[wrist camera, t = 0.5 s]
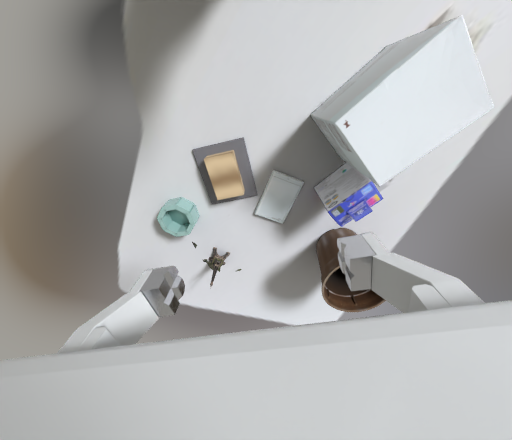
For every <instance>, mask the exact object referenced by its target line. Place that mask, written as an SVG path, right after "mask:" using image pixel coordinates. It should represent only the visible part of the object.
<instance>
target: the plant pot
mask: <svg viewBox="0 0 512 440" xmlns="http://www.w3.org/2000/svg"><path fill="white" fill-rule="evenodd" d="M354 235H357V234H356V233H355V232H353V231H352V230H349V229H346V228H340V229H332V230H330V231H328V232H326V233H325V234H324V235H322V236H321V238H320V239H319V240H318V242H317V246H316V251H317V255H318V260H319V265H320V269H321V274H322V276H321V280H322V295H323V298H324V300H325V301H326V303H327V304H328V305H330V306H331V307H333V308H335V309H337V310H340V311H345V312H361V311H366V310H369V309H372V308H375V307H377V306H379V305H380V304H382V303H383V302H385V301H386V300H385V299H383V298H382V297H381V296H379V295H378V294H376V293H375V292H374V291H372V289H367V290H358V291H351V290H350V288H349V286H348V284H347V281H346V275H345V274H344V273H342V270H341V268H340V265H339V260H338V252H339V251H340V250H339V248H338V246H337V238H342V237H348V236H354Z"/></svg>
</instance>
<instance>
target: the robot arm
mask: <svg viewBox="0 0 512 440" xmlns="http://www.w3.org/2000/svg"><path fill="white" fill-rule="evenodd" d="M337 246H338V248H339V250H340V251H339V252H338V260H339V265H340V268H341V270H342V273H344V274H345V275H346V281H347V284H348V286H349V288H350V290H351V291H358V290H367V289H372V291H374V292H375V293H376V294H378V295H379V296H381V297H382V298H383V299H385V300H386V301H388V302H389V303H390V304H392V305H393V306H394V307H396V308H397V309H399V310H400V311H401V312H403V313H399V314H390V315H382V316H373V317H365V318H356V319H348V320H339V321H331V322H322V323H314V324H305V325H296V326H288V327H279V328H270V329H262V330H254V331H245V332H237V333H228V334H219V335H211V336H203V337H194V338H185V339H177V340H168V341H160V342H152V343H142V344H136V343H137V342H138V341H139V340H140V339H141V338H142V336H143V335H144V334H145V333H146V332H147V331H148V330H149V329H150V328H151V326H152V325H153V324H154V323H155V322H156V321H157V320H158V319H159V317H164V316H170V315H175V313H176V311H177V308H178V306H179V304H180V303H179V301H178V300H179V299H180V298H181V297H182V296H183V294H184V289H185V285H184V281H183V279H182V278H181V277H180V276H178V270H177V268H176V267H175V266H168V267H161V268H155V269H148V270H145V271H144V272H143V273H142V275H141V276H140V278H139V279H138V280H137V282H136V283H135V285H134V286H133V288H132V289H131V290H130V292H129V293H128V294H125V295H123V296H122V297H121V298H119V299H118V300H116V301H115V302H114V303H112V304H111V305H110V306H108V307H107V308H105V309H104V310H103V311H101V312H100V313H98V314H97V315H96V316H94V317H93V318H92V319H90V320H89V321H87V322H86V323H85V324H83V325H82V326H80V327H79V328H78V329H76V331H75V332H74V333H73V334H72V335H71V337H70V338H69V339H68V340H67V342H66V343H65V344H64V345H63V346H62V348H61V349H60V350H59V351H58V353H56V354H48V355H39V356H31V357H22V358H14V359H6V360H0V440H512V300H510V301H501V302H493V303H484V302H483V301H482V300H481V299H480V298H479V297H478V296H477V295H475V293H473V292H472V290H470V289H469V288H468V287H467V286H466V285H465V284H464V283H463V282H462V281H461V280H459V279H458V278H455V277H453V276H450V275H448V274H445V273H443V272H440V271H438V270H435V269H433V268H430V267H428V266H425V265H423V264H420V263H418V262H415V261H413V260H410V259H408V258H405V257H403V256H401V255H398V254H396V253H390V252H389V251H388V250H387V249H386V248H385V246H384V245H383V244H382V243H381V242H380V240H379V239H378V238H377V237H376V236H375V234H374V233H373V232H368V233H363V234H360V235H354V236H348V237H342V238H337Z"/></svg>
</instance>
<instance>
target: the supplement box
mask: <svg viewBox="0 0 512 440" xmlns="http://www.w3.org/2000/svg"><path fill="white" fill-rule="evenodd" d="M493 108H494V105H493V102H492V100H491V97H490V94H489V92H488V88H487V85H486V83H485V80H484V77H483V74H482V71H481V68H480V66H479V63H478V60H477V57H476V55H475V52H474V49H473V45H472V42H471V39H470V36H469V33H468V30H467V27H466V24H465V21H464V17H463V16H462V15H461V16H458V17H456V18H454V19H451V20H449V21H447V22H444V23H442V24H439V25H437V26H434V27H432V28H429V29H427V30H424V31H422V32H420V33H417V34H415V35H412V36H410V37H407V38H405V39H402V40H400V41H397V42H395V43H393V44H390V45H388V46H386V47H385V49H383V50H382V51H381V52H380V53H379V54H378V55H377V56H376V57H374V58H373V59H372V60H371V61H370V62H369V63H368V64H367V65H365V66H364V67H363V68H362V69H361V70H360V71H359V72H357V73H356V74H355V75H354V76H353V77H352V78H351V79H350V80H348V81H347V82H346V83H345V84H344V85H343V86H342V87H341V88H339V89H338V90H337V91H336V92H335V93H334V94H333V95H332V96H331V97H329V98H328V99H327V100H326V101H325V102H324V103H323V104H322V105H320V106H319V107H318V108H317V109H316V110H315V111H314V112H312V113H311V116H312V118H313V120H314V121H315V123H316V124H317V126H318V127H319V128H320V130H321V131H322V133H323V134H324V135H325V137H326V138H327V140H328V141H329V143H330V144H331V145H332V147H333V148H334V150H335V151H336V152H337V154H338V155H339V157H340V158H341V159H343V160H344V161H346V162H347V163H348V164H350V165H351V166H352V167H354V168H355V169H356V170H358V171H359V172H360V173H361V174H363V175H364V176H366V177H367V178H368V179H370V180H371V181H372V182H374V183H375V184H376V185H378V186H379V187H380V186H382V185H383V184H384V183H386V182H387V181H389V180H390V179H392V178H393V177H395V176H396V175H398V174H399V173H401V172H402V171H403V170H405V169H406V168H408V167H409V166H411V165H412V164H414V163H415V162H416V161H418V160H419V159H421V158H422V157H424V156H425V155H426V154H428V153H429V152H431V151H432V150H434V149H435V148H437V147H438V146H439V145H441V144H442V143H444V142H445V141H447V140H448V139H450V138H451V137H453V136H454V135H456V134H457V133H459V132H460V131H462V130H463V129H464V128H466V127H467V126H469V125H470V124H472V123H473V122H475V121H476V120H478V119H479V118H481V117H482V116H483V115H485V114H486V113H488V112H489V111H491V110H492V109H493Z"/></svg>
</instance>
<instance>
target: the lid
mask: <svg viewBox="0 0 512 440" xmlns="http://www.w3.org/2000/svg"><path fill="white" fill-rule="evenodd" d="M204 162H205V165H206V168H207V171H208V174H209V176H210V179H211V182H212V185H213V188H214V191H215V194H216V197H217V200H221V199H226V198H231V197H236V196H241V195H244V191H245V189H244V186H243V182H242V178H241V175H240V171H239V167H238V163H237V160H236V156H235V152H234V150H231V151H226V152H222V153H218V154H214V155H209V156H206V157H205V158H204Z"/></svg>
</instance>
